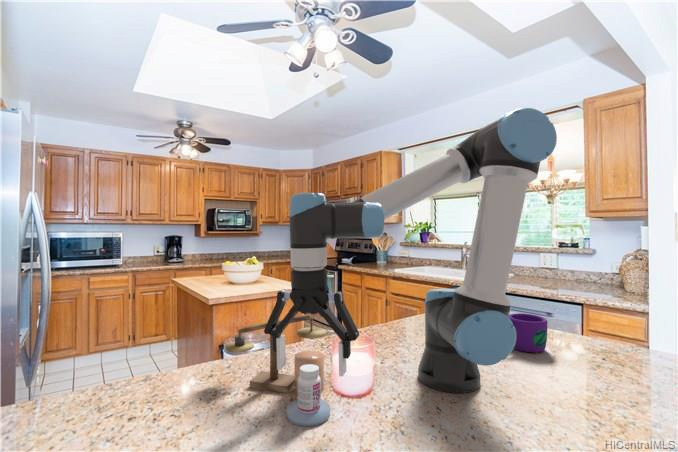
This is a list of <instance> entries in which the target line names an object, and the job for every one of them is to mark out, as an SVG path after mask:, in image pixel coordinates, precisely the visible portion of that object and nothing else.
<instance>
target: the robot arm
mask: <svg viewBox="0 0 678 452" xmlns="http://www.w3.org/2000/svg"><path fill="white" fill-rule="evenodd" d="M557 137H558V136H557V131H556V127H555V125H554V123H553V122H551V120H550V119H549V116H547V115H546V113H543V112H542V111H540V110H538V109H536V108H532V107H522V108H521V107H520V108H517V109H515V110H513V111H508V112H506V113H504V114H503V115H502V116H501V118H498V119H496V120H494V121H492V122H490V123H489V124H486V125H485V126H483V127H480V129H478V130H476V131H475V132H474V133H472V134H471V135H470V136H468V137H467V138H466V139H464V140H463V141H461V142H460V143H458V144H456V145H455V146H452V147H451V148H449V149H447V151H446V153H445V155H444V156H441V157H439V158H437V159H435V160H433V161H432V162H430V163H428V164H425V165H423V166H422V167H420V168H418V169H415V170H414V171H411V172H410V173H407V174H405V175H403V176H401V177H399V178H398V179H396V180H393V181H391V182H390V183H388V184H386V185H383V186H381V187H380V188H378V189H375V190H373V191H371V192H370V193H367V194H365V195H364V196H362V197H360V198H358V199H356V200H354V201H352V202H339V203H338V202H337V203H336V202H335V203H333V202H327V199H326V198H327V197H326V195H325V194H324V193H320V192H300V193H299V192H298V193H294V194H293V195H292V196H291V197H290V198H289V216H288V217H289V220H288V221H289V241H290V242H289V244H290V267H291V268H293V269H292V270H291V271H290V286H291V291H288V289H282V290H278V292H277V293H276V303H275V304H274V307H273V309H272V311H271V313H270V316H269V318H268V320H267V322H266V323H267V325H266V327H265V328H264V329H263V333H264V334H265V335H271V336H272V337H273V351H274V352H277V370H278V371H280V370H282V369H283V368H285V366H287V353H286V352H287V351H286V349H287V347H286V334H283V332H284V331H285V330H286V329H287V327H288V326H289V325H290V324H291V323H290V322H291V321H292V319H293V318H294V317H297V316H296V315H297V314H299V312H300V313H301V314H302V315H307V314H312V315H317V314H319V316H320V317H322V318H323V319H324V321H326V323H327V324H328V325H329V326H330V328H331V329H332V331H333V332H334V333H335V334H336V335H337V336H338V338H339V339H340V341H339V342H338V345H337V347H338V376H339V377H344V375H345V374H346V372H347V359H349V358H350V357H351V354H352V351H351V342H352V341H356V340H357V339H358V338H359V336H360V332H359V330H358V328H357V326H356V324H355V321H354V319H353V317H352V315H351V313H350V311H349V309H348V308H347V306H346V304H345V300H344V294H343V291H341V290H339V291H337V292H329V290H328V285H329V284H328V269H327V268H325V267H327V265H328V259H327V258H328V257H327V256H328V255H327V254H328V251H327V239H330V240H331V239H332V240H333V239H367V240H368V239H373V238H380V237H381V236H382V235H383V233H384V229H385V220H387V219H389V218H390V217H393V216H395V215H397V214H399V213H400V212H403V211H404V210H406V209H408V208H410V207H412V206H414V205H416V204H419V203H420V202H422V201H424V200H426V199H428V198H430V197H432V196H434V195H436V194H438V193H441V192H442V191H444V190H446V189H448V188H450V187H451V186H454V185H456V184H458V183H461V184H466V183H468V182H470V181H472V180H475V179H477V178H480V177H482V178H483V179H484V181H483V186H482V191H481V196H480V201H479V206H478V211H477V217H476V221H475V225H474V228H473V229H474V230H473V236H472V240H471V245H470V249H469V255H468V258H467V259H468V260H467V262H466V263H467V264H466V268H465V273H464V278H463V283H462V284H461V285H460V286H458V287H457V288H433V289H432V288H431V289H429V290H427V291H426V293H425V301H424V306H425V307H424V310H425V311H424V318H425V319H424V325H425V327H424V335H425V338H424V339H425V340H424V341H425V342H424V346H425V347H424V349H423V353H422V355H421V358H420V362H419V364H418V368H417V376H418V379H419V381H420V382H421V383H422V384H424V385H425V386H427V387H430V388H432V389H435V390H438V391H441V392H445V393H455V394H457V393H459V394H461V393H471V392H473V391H476V390H477V389H478V388H480V386H481V372H480V370H479V368H478V366H493V365H497V364H498V363H500V362H501V361H503V360H505V359H507V357H509V356H510V354H512V352H513V350H514V346H515V343H516V329H515V327H514V326H513V323H512V321H511V320H510V319H509V315H510V312H511V308H512V302H511V301H510V300H509V298H508V296H507V295H506V292H507V287H508V281H509V277H510V273H511V272H510V271H511V267H512V263H513V262H512V261H513V257H514V253H515V249H516V248H515V247H516V243H517V238H518V233H519V227H520V223H521V219H522V218H521V217H522V213H523V210H524V209H523V208H524V203H525V198H526V193H527V188H528V186H529V184H530V183H532V182H534V181H535V180H536V179H537V178H538V174H539V170H540V166H541V162H542V161H544V160H546V159H548V157H550V156H551V155H552V153H553V152H554V150H555V148H556V146H557V141H558V138H557ZM289 299H290V300H291V302H292V304H293V305H292V307H291V308H290V309H289V311H288V313H287V314H286V315H285V316H284V318H282V319H281V320H282V321H281V322H280V324H279V325H278V326H277V328H275V326H276V324H277V322H278V320H280V317H281V314H282V313H283V311H284V308H285V306H286V303H287V302H288V301H289ZM328 301H331V303H332V304H334V307H335V309H336V311H337V313H338V315H339V317H340V319H341V321H342V323H343V324H342V323H341V321H340V319H338V318H337V316H336V315H335V314H334V313H333V311H332V309H331V307H330V306H329V304H327V303H328Z"/></svg>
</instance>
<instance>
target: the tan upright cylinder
mask: <svg viewBox="0 0 678 452" xmlns="http://www.w3.org/2000/svg"><path fill="white" fill-rule="evenodd" d="M307 364H313V365H317V366H318V367H319V377H320V379H321V393H320V394H322V393H323V392H324V390H325V389H324V388H325V354H324V353H322V352H320V351H318V350H303V351H299V352H297V353H296V354H295V355H294V376H295V378H294V387H293V391H294V393H295V394H296V395H298V378H299V376H300V374H299V373H300V367H301V366H303V365H307Z"/></svg>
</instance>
